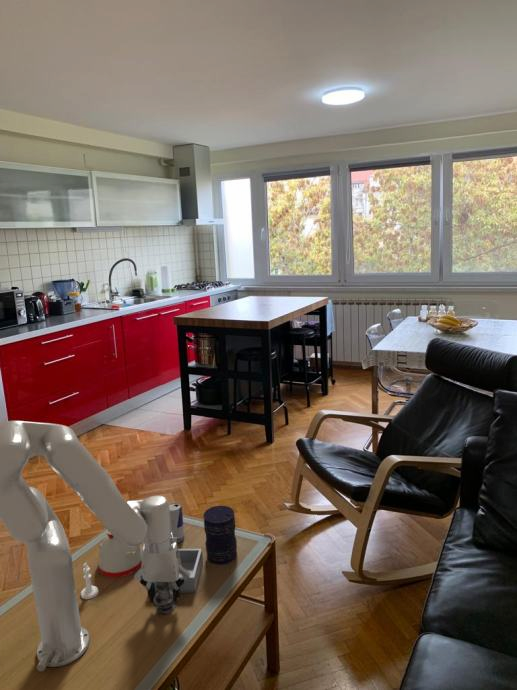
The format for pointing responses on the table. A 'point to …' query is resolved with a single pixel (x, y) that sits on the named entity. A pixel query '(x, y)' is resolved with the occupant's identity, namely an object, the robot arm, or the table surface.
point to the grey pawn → (164, 599)
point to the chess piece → (88, 585)
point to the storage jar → (220, 535)
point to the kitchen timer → (118, 558)
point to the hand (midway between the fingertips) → (164, 598)
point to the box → (189, 569)
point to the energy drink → (177, 521)
